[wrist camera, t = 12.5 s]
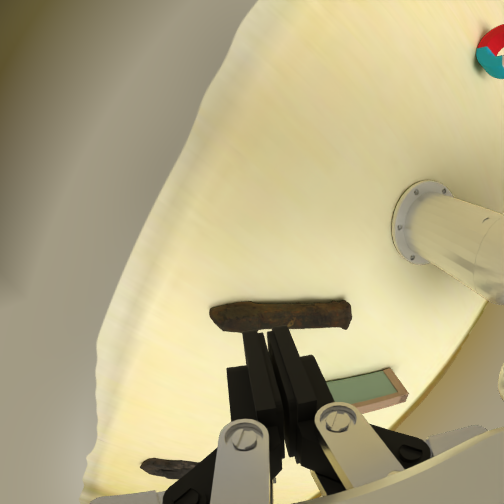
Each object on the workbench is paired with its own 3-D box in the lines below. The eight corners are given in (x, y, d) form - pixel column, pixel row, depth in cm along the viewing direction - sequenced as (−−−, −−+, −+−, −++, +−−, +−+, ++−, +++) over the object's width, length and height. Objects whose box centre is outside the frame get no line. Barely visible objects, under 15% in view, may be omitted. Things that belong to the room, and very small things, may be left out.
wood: (244, 465, 55) (246, 475, 52) (235, 479, 57) (236, 489, 54) (141, 449, 50) (140, 460, 48) (140, 465, 52) (138, 475, 50)
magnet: (479, 81, 34) (522, 78, 24) (469, 70, 33) (513, 65, 24) (490, 39, 31) (529, 32, 22) (481, 29, 30) (520, 20, 21)
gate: (288, 387, 47) (298, 419, 40) (390, 368, 49) (408, 393, 42) (287, 395, 47) (297, 427, 40) (388, 376, 49) (405, 401, 42)
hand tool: (345, 295, 43) (358, 311, 38) (339, 319, 44) (350, 336, 40) (211, 289, 40) (211, 306, 36) (209, 315, 41) (209, 334, 37)
